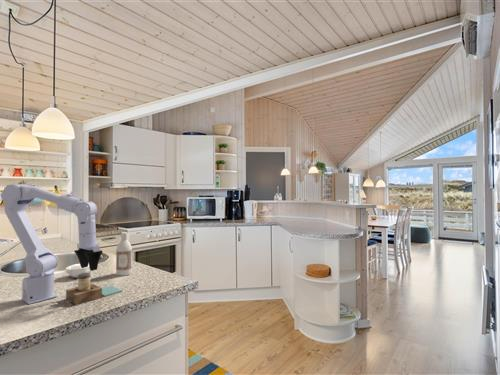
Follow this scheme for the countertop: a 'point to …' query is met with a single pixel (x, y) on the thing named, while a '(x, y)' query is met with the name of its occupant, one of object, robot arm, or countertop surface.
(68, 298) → the walnut block
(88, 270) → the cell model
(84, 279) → the maple plug
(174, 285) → the countertop surface
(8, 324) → the countertop surface
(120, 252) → the bath foam
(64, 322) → the countertop surface
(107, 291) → the teal mat
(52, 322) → the countertop surface
